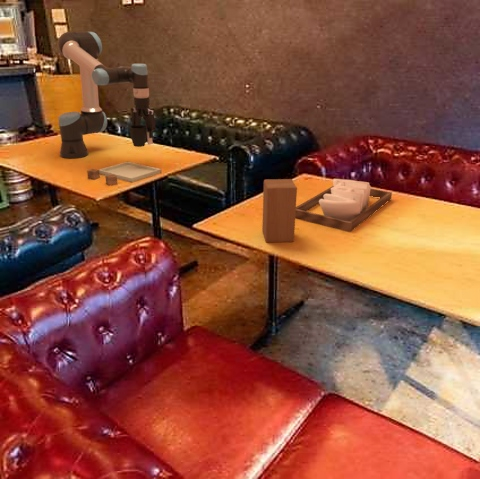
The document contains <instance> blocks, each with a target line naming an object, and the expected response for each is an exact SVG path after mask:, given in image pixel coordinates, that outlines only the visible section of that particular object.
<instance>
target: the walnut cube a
mask: <svg viewBox="0 0 480 479" xmlns="http://www.w3.org/2000/svg"><path fill="white" fill-rule="evenodd" d="M86 174H87V179H88V180H97V179H100V178H101V177H100V176H101V174H99V169H96V168H95V169H94V168H90V169H89V170H87V171H86Z"/></svg>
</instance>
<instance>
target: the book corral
mask: <svg viewBox="0 0 480 479" xmlns="http://www.w3.org/2000/svg"><path fill="white" fill-rule="evenodd" d="M332 187H334V185H332V186H331V187H329V188H327V189H326V190H323V191H322V192H320V193H318V194H317V195H315V196H313V197H311V198H310V199H308V200H306V201H304V202H302V203H301V204H299V205H296V213H295V220H296V219H297V220H300V221H305V222H309V223H312V224H316V225H321V226H324V227H328V228H331V229H336V230H340V231H343V232H348V233H351V232H352V231H354V230H355V229H356V228H358V227H359V226H360V225H362V223H364V222H365V221H366V220H367V219H369V218H370V217H371V216H373V215H374V214H375V213H376V212H377V211H376V210H378V209H379V208H380V207H381V206H382V205H384V204H385V203H386V202H387V201H389V200H390V199H391V200H392V195H393V192H392V191H385V190H381V189H377V188H376V189H375V188H372V187H371V189H370V196H373V197H380V199H378V200H376V201H375V202H373V203H372V204H371V205H369V206H368V207H367V209H366V210H364V211H363V212H361V213H360V214H359V215H357V216H356V217H355V218H353V219H352V220H351V221H345V220H341V219H336V218H332V217H328V216H324V214H320V213H319V214H318V213H315V212H311V211H309V210H311V209H312V208H314V207H316V206H317V205H320V204H319V200H320V199H324V197H323V195H324V194H331V188H332ZM373 197H372V198H373ZM391 200H390V201H391ZM390 201H389V202H390ZM385 205H386V204H385ZM385 205H384V206H385ZM381 208H382V207H381ZM381 208H380V209H381ZM380 209H379V210H380ZM379 210H378V211H379ZM375 211H376V212H375ZM374 212H375V213H374ZM373 213H374V214H373ZM372 214H373V215H372ZM370 215H371V216H370ZM369 216H370V217H369ZM368 217H369V218H368ZM364 220H365V221H364ZM363 221H364V222H363ZM359 224H360V225H359ZM354 228H355V229H354Z"/></svg>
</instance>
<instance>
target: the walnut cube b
mask: <svg viewBox="0 0 480 479" xmlns="http://www.w3.org/2000/svg"><path fill="white" fill-rule="evenodd" d="M104 176H105V184H106V185H108V187H109V186H110V185H111V186H117V185H118V179H117V176H115V175H114V174H112V175H104Z"/></svg>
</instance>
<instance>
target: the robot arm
mask: <svg viewBox="0 0 480 479" xmlns="http://www.w3.org/2000/svg"><path fill="white" fill-rule="evenodd" d="M102 44H103V43H102V40H101V38H100V36H99V35H98V34H97V33H95V32H94V31H87V30H86V31H84V30H83V31H66V32H64V33H62V34H61V35H60V36H59V38H58V39H57V49H58V51H59V53H60V54H61V55H62V56H63V57H64V58H65V59H67V60H70V61H71V60H72V62H74V63H75V64H77V65H78V66H79V74H80V84H81V95H82V96H81V98H82V107H81V108H80V111H69V112H68V111H67V112H64V113H62V114H60V115H59V116H58V126H59V132H60V139H61V145H60V150H59V156H60V157H61V158H64V159H79V158H85V157H87V156H88V155H89V150H88V148H87V146H86V143H85V141H84V136H85V135H92V134H98V133H101V132H104V131H105V130H106V129H107V126H108V118H107V115H106V113H105V112H104V111H103V108H101V107H100V102H99V101H100V100H99V99H100V98H99V88H98V86H108V85H118V84H132V91H133V103H134V105H133V106H135V107H132V108H130V111H131V126H133V125H142V124H141V123H142V120H144V123H145V126H147V136H146V137H147V145H148V146H149V145H154V144H153V138H154V133H153V132H154V131H156V121H155V110H154V109H153V110H151V109H150V105H151V104H150V101H151V100H150V89H149V72H148V65H147V64H146V63H131V66H126V65H125V66H123V65H122V66H119V67H107V66H105V65H104V64H103V63H102V62H100V61H99V55H101V54H102V52H103V45H102ZM142 118H143V119H142Z"/></svg>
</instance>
